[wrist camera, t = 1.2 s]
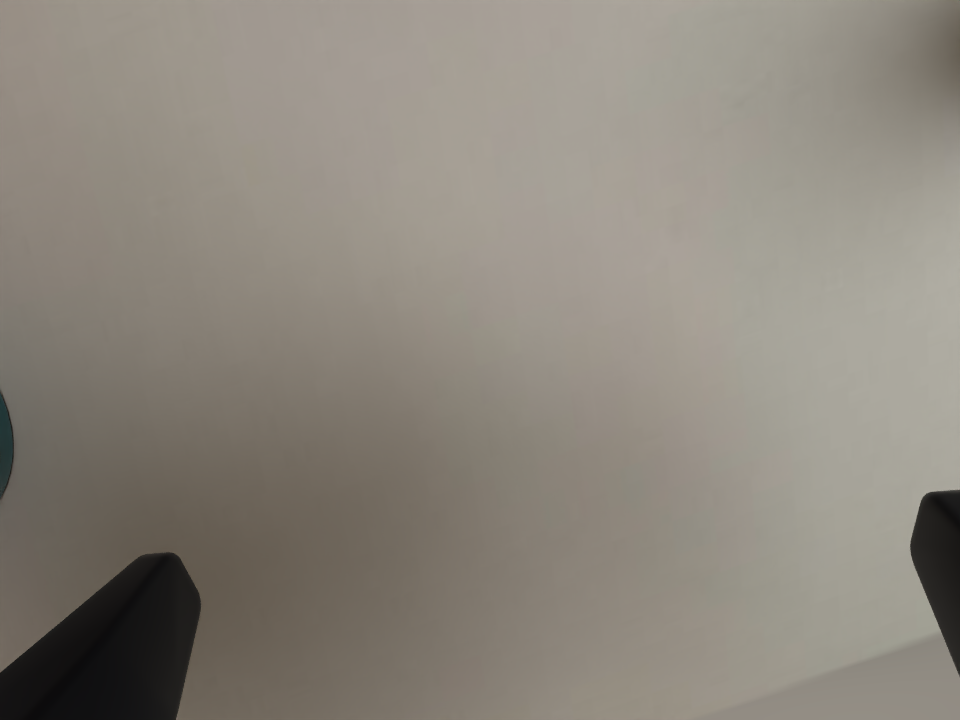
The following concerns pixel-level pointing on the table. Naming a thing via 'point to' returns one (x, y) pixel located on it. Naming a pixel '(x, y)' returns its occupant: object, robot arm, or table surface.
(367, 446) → the table surface
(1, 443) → the cup
